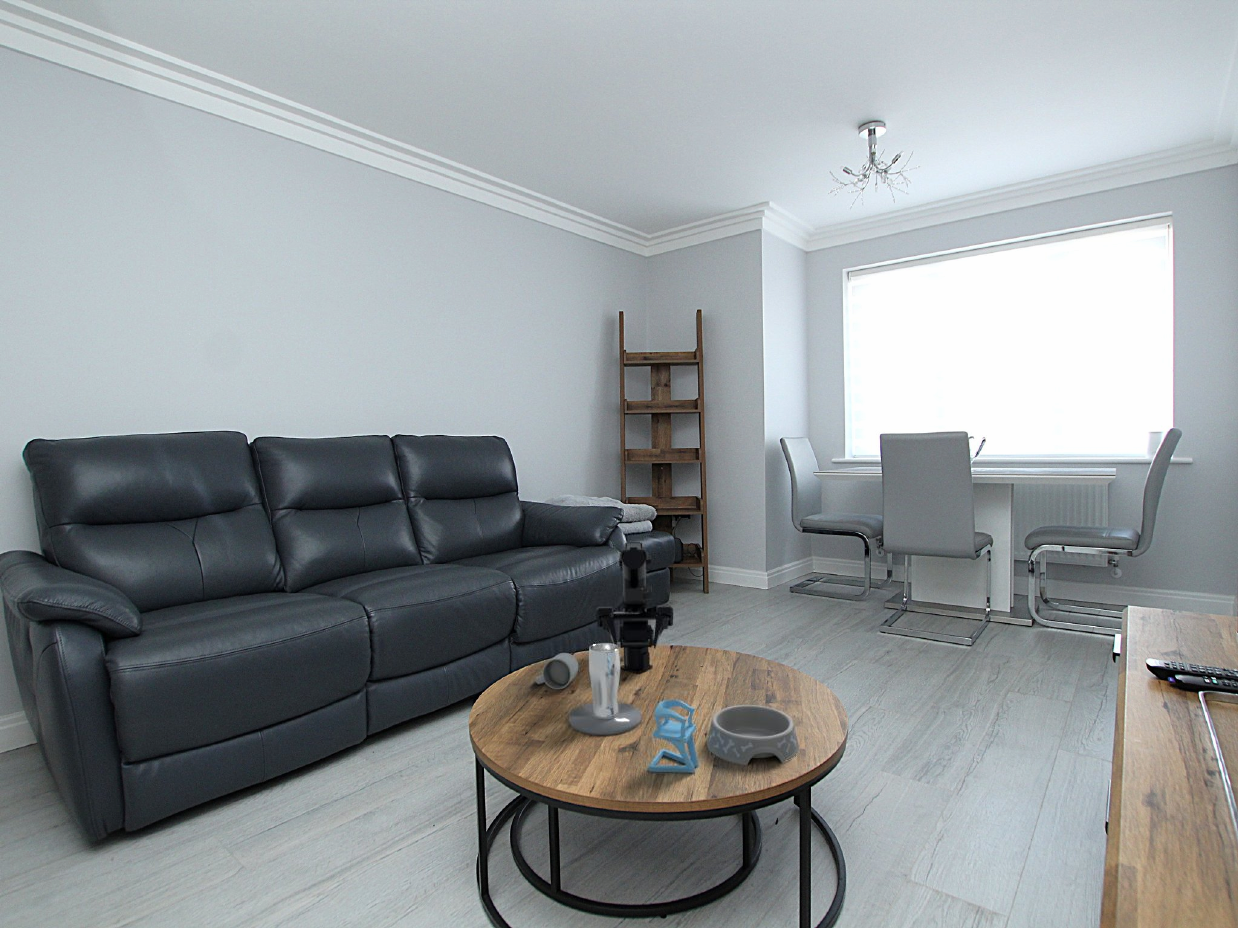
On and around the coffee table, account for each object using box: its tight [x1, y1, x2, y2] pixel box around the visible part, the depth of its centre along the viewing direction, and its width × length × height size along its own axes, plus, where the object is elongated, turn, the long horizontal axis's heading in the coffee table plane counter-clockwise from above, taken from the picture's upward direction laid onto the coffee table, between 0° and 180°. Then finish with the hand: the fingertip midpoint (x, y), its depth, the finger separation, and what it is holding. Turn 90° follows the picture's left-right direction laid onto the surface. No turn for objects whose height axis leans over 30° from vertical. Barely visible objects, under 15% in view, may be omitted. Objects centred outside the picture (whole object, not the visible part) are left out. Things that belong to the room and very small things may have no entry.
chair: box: [647, 699, 700, 774], centre depth 129 cm, size 8×8×12 cm
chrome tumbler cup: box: [588, 642, 621, 720], centre depth 151 cm, size 7×7×15 cm
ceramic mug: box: [535, 652, 579, 690], centre depth 175 cm, size 11×8×8 cm
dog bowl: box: [706, 704, 800, 766], centre depth 137 cm, size 17×18×5 cm
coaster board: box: [568, 701, 642, 736], centre depth 151 cm, size 16×16×1 cm
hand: (635, 648), depth 163 cm, fingers open, 9 cm apart
